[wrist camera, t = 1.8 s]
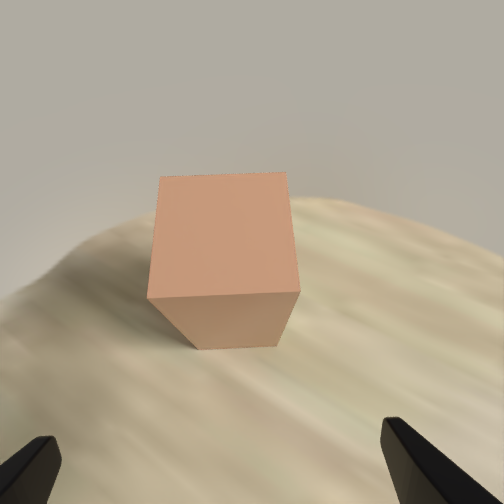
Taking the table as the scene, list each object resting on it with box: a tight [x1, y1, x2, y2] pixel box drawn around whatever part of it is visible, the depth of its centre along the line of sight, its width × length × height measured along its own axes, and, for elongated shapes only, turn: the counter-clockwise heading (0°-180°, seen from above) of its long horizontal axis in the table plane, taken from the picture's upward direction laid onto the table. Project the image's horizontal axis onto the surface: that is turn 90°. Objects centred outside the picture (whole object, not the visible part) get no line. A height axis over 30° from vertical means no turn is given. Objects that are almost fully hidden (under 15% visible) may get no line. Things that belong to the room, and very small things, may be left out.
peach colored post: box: [147, 172, 301, 350], centre depth 18 cm, size 6×6×12 cm
